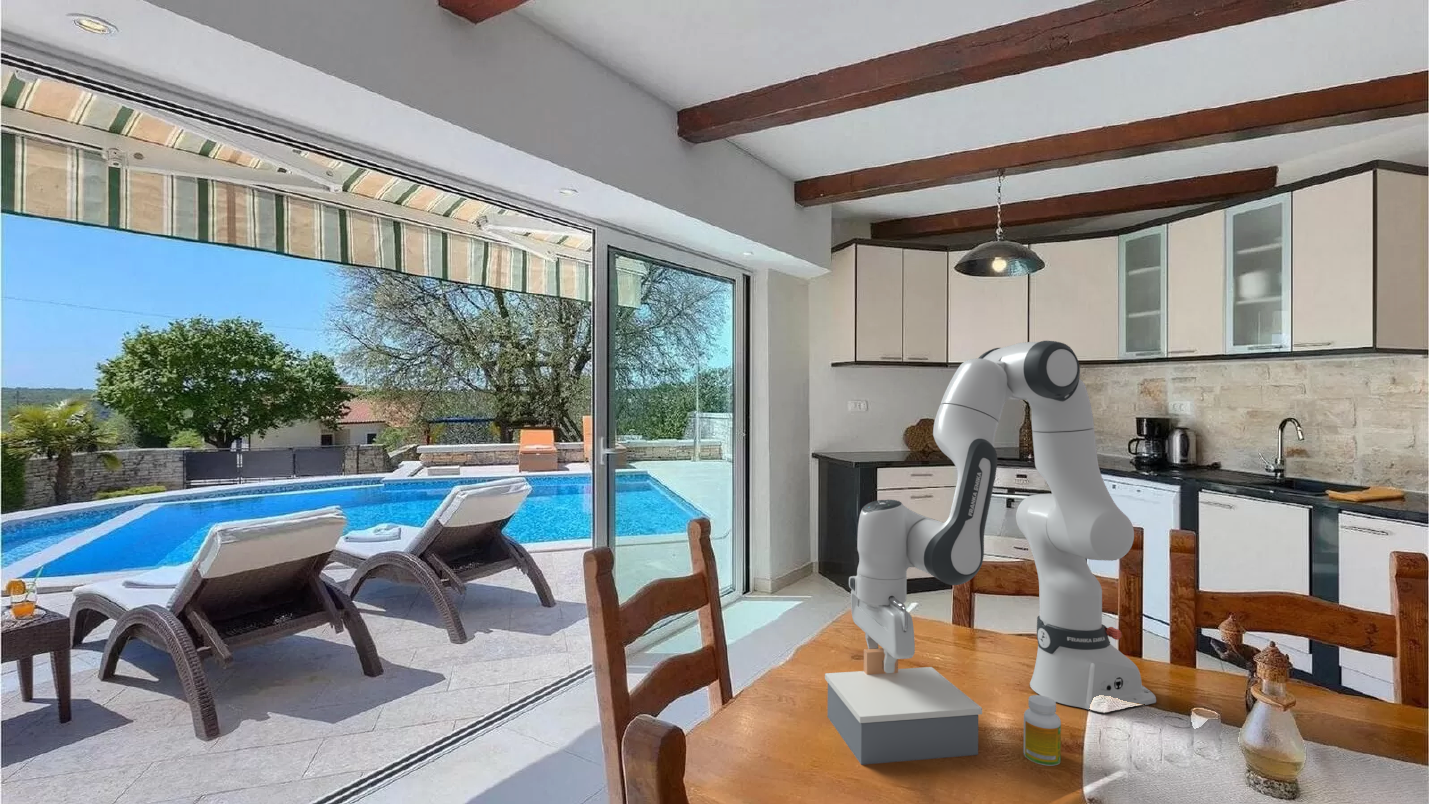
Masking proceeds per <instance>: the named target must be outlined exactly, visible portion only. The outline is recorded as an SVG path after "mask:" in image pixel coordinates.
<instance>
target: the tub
mask: <svg viewBox="0 0 1429 804" xmlns="http://www.w3.org/2000/svg"><path fill="white" fill-rule="evenodd" d="M827 718H828V720H829V721H830V723H831V724H832V726H833V727H834V728H835V729H836V731H837V732H838V734H839V735H840V737H841V738H842V740H843V742H845V744H846V745H847V747H848V748H849V749H850V751H851V753H852V754H853V755H854V757H855V758H856V760H857V761H858V763H859V764H860V765H861V766H862V765H863V766H864V765H876V764H885V763H899V762H908V761H912V762H913V761H922V760H932V759H944V758H945V759H946V758H947V759H948V758H957V757H958V758H959V757H969V756H979V715H966V716H952V717H939V718H925V719H911V720H898V721H884V722H871V723H859V721H858V720H857V719H856V718H855V716H854V715H853V714H852V712H851V711H850V710H849V709H848V707H847V706H846V705H845V704H844V702H843V701H842V700H841V699H840V697H839V696H838V695H837V693H836V692H835V691H834V690H833V688H832V687H831V686H830V685H829V683H828V682H827Z"/></svg>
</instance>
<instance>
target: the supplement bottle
mask: <svg viewBox="0 0 1429 804" xmlns="http://www.w3.org/2000/svg"><path fill="white" fill-rule="evenodd" d="M1027 704H1028V708H1027V709H1026V710H1025V711H1024V712H1023V755H1024V757H1025V758H1027V759H1028V760H1029V761H1031V762H1033V763H1035V764H1038V765H1043V766H1049V767H1050V766H1051V767H1052V766H1057V765H1060V764H1061V761H1062V760H1061V759H1062V758H1061V754H1062V751H1061V749H1062V748H1061V745H1062V744H1061V742H1062V741H1061V739H1062V738H1061V737H1062V736H1061V733H1062V729H1061V728H1062V721H1061V719H1060V717H1059V715H1058V714H1056V712H1057V702H1055V701H1054V700H1053V699H1051V698H1049V697H1046V696H1041V695H1039V694H1033V695H1030V696H1028V703H1027Z"/></svg>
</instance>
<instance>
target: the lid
mask: <svg viewBox="0 0 1429 804" xmlns="http://www.w3.org/2000/svg"><path fill="white" fill-rule="evenodd" d="M878 648H879V647H878ZM884 658H885V654H884V649H883V648H882V647H881V648H879V649H868V648H865V649H863V670H861V671H859V670H857V671H845V672H844V671H843V672H841V671H840V672H829V673H828V672H827V673H824V680H825V681H826V682H827V684H828V683H829V685H830V686H831V687H832V688H833V690H834V691H835V692H836V693H837V695H838V696H839V697H840V699H841V700H842V701H843V702H844V704H845V705H846V706H847V707H848V709H849V710H850V711H851V712H852V714H853V715H854V716H855V718H856V719H857V720H858V721H859V723H871V722H884V721H898V720H911V719H925V718H939V717H952V716H966V715H978V716H979V715H983V708H982V706H980V705H979V704H978V703H976V702H975V701H974V700H973V699H972V698H970V697H969V696H968V695H967V694H966V693H964V692H963V690H960V688H958V687H957V686H956V685H954V684H953V683H952V682H951V681H949V680H948V679H947V678H946V677H944V676H943V675H942V674H941V673H940V672H938V671H937V670H936V669H935V668H934V667H932V666H928V667H927V666H925V667H924V666H923V667H911V668H899V659H897V660H896V662H895V671H894V673H886V672H885V671H884V670H883V669H882V660H884Z"/></svg>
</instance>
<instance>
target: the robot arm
mask: <svg viewBox="0 0 1429 804" xmlns="http://www.w3.org/2000/svg"><path fill="white" fill-rule="evenodd" d="M1080 377H1081V367H1080V363H1079V360H1078V357H1077V355H1076V353H1075V352H1074V350H1073V349H1072V348H1071V346H1070V345H1068V344H1066V343H1064V342H1060V341H1055V340H1042V341H1027V342H1018V343H1015V344H1012V345H1007V346H1003V347H996V348H992V349H989V350H988V351H985V352H983V353H982V354H981V355H979V357H978V358H970V359H967V360H965V361H964V362H962V363H961V364H960V365H959V366H958V368H957V369H956V371H955V372H954V374H953V376H952V378H951V379H950V381H949V383H948V385H947V388H946V389H945V391H944V394H943V396H942V399H941V402H940V404H939V407H938V409H937V412H936V415H935V418H934V422H933V430H932V436H933V438H934V441H935V444H936V446H937V447H938V448H939V449H940V451H941V452H942V453H943V454H944V455H945V456H947V457H948V458H949V459H950V460H951V462H952V463H953V464H954V466H955V468H956V475H957V478H956V479H957V481H956V484H955V490H954V494H953V499H952V504H951V508H950V511H949V516H948V517H947V520H946V521H945V522H943V521H940V520H937V519H934V518H930V517H928V516H925V515H922V514H919V513H917V512H915V511H913V510H912V509H910V508H909V507H907V506H906V505H904V504H903V503H902V501H900V500H896V499H879V500H874V501H871V502H868V503H867V504H865V505H864V506H863V507H862V508H861V511H860V514H859V518H858V527H857V538H856V541H857V542H856V543H857V547H856V549H857V552H858V553H857V554H858V558H859V559H858V561H859V562H858V565H857V570H856V575H852V576H849V577H848V587H849V589H851V591H850V606H851V607H850V609H851V616H852V621H853V623H854V624H855V625H856V626H857V627H858V628H859V629H861V631H862V632H864V634H865V636H864V638H865V642H866V644H867V645H866V646H867V649H879V647H881V648H883V649H884V654H885V658H884V660H882V669H883V670H884V671H885V672H886V673H894V671H895V662H896V660H897V659H898V660H905V659H906V660H907V659H912V658H913V657H914V655H915V651H916V650H915V649H916V648H915V647H916V646H915V644H916V643H915V630H914V621H913V618H912V615H911V613H910V612H909V611H907V609H906V605H905V604H904V603H906V602H907V581H908V580H907V575H908V574H907V572H908V569H909V568H916V569H917V570H919V571H922V572H924V573H927V574H929V575H930V576H932V577H934V578H935V579H937V580H939V581H940V582H941V583H942V582H943V583H944V584H947V585H948V586H959V585H963V584H966V583H967V582H970V580H972V579H973V578H975V576H976V575H977V574H978V573H979V571H980V569H981V567H982V565H983V562H984V556H985V555H984V554H985V531H986V525H987V520H988V514H989V510H990V504H991V500H992V495H993V490H994V486H995V481H996V476H997V475H996V474H997V468H998V454H997V451H996V450H997V449H995V441H996V440H995V439H996V433H997V430H998V426H999V423H1000V420H1001V416H1002V414H1003V410H1004V405H1005V404H1006V402H1007V401H1008V400H1018V401H1019V400H1020V401H1023V400H1026V401H1027V402H1028V404H1029V406H1030V410H1031V430H1032V431H1031V433H1032V434H1031V435H1032V445H1033V455H1034V466H1035V469H1036V471H1037V473H1038V474H1039V476H1041V477H1042V478H1043V479H1044V481H1045V483H1046V484H1047V485H1048V487H1049V490H1050V492H1051V493H1038V494H1031V495H1029V496H1027V497H1025V498H1023V499H1022V500H1021V502H1020V503H1019V505H1018V506H1017V509H1016V512H1015V521H1016V524H1017V527H1018V529H1019V530H1020V532H1021V533H1022V535H1023V536H1024V538H1025V539H1026V541H1027V543H1028V546H1029V548H1030V551H1031V554H1032V557H1033V559H1034V564H1035V568H1036V571H1037V578H1038V587H1039V588H1038V590H1039V591H1038V593H1039V596H1038V597H1039V598H1038V599H1039V607H1038V608H1039V615H1038V616H1037V618H1036V638H1037V640H1036V641H1037V652H1036V653H1037V654H1036V659H1035V665H1034V669H1033V672H1032V676H1031V680H1030V681H1029V686H1030V688H1031V689H1032V691H1034V692H1035V693H1036V694H1037V695H1041V696H1046V697H1049V698H1051V699H1053V700H1054V701H1055V702H1056V703H1059V704H1062V705H1066V706H1071V707H1077V708H1082V709H1086V710H1088V711H1090V710H1089V708H1090V704H1091V702H1092V700H1093V698H1094V697H1096V696H1099V695H1104V696H1111V697H1113V698H1118V699H1120V700H1123V701H1127V702H1134V703H1139V704H1145V705H1144V706H1147V705H1151V704H1156V703H1157V697H1156V695H1155V694H1154V693H1153V692H1152V691H1151V690H1150V689H1148V688H1147V687H1145V686H1144V685H1142V683H1143V682H1142V676H1141V673H1140V669H1139V668H1138V666H1137V665H1136V664H1135V663H1134V662H1133V660H1131V659H1130V658H1129V657H1127V656H1126V655H1125V654H1123V653H1122V652H1121V651H1120V650H1119V649H1117V648H1116V647H1115V646H1114V645H1112V644H1111V641H1110V639H1109V638H1112V639H1114V640H1115V641H1118V640H1120V639H1121V638H1122V634H1123V633H1122V631H1121V630H1120V629H1118V628H1115V627H1113V626H1109V627H1107V626H1106V625H1104V624H1103V589H1102V586H1101V583H1100V581H1099V580H1098V579H1097V577H1096V576H1095V575H1094V574H1093V572H1092V571H1091V568H1090V566H1089V564H1088V561H1087V560H1091V561H1092V560H1093V561H1106V562H1107V561H1108V562H1109V561H1111V562H1112V561H1117V560H1120V559H1122V558H1124V557H1125V555H1127V554H1128V553H1129V551H1130V550H1131V549H1132V546H1133V544H1134V541H1135V540H1134V539H1135V531H1134V530H1135V529H1134V526H1133V523H1132V521H1131V519H1130V518H1129V517H1128V516H1127V515H1126V514H1125V513H1124V512H1123V511H1122V510H1121V509H1120V508H1119V507H1118V506H1117V504H1116V503H1115V501H1114V500H1113V498H1112V496H1111V494H1110V492H1109V490H1108V488H1107V485H1106V483H1105V481H1104V479H1103V476H1102V473H1101V471H1100V467H1099V462H1098V461H1099V459H1098V452H1097V445H1096V444H1097V443H1096V435H1095V434H1096V433H1095V422H1094V414H1093V409H1092V405H1091V401H1090V395H1089V393H1088V390H1087V387H1086V385H1085V383H1084V382H1083V380H1082V379H1081V378H1080Z"/></svg>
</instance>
